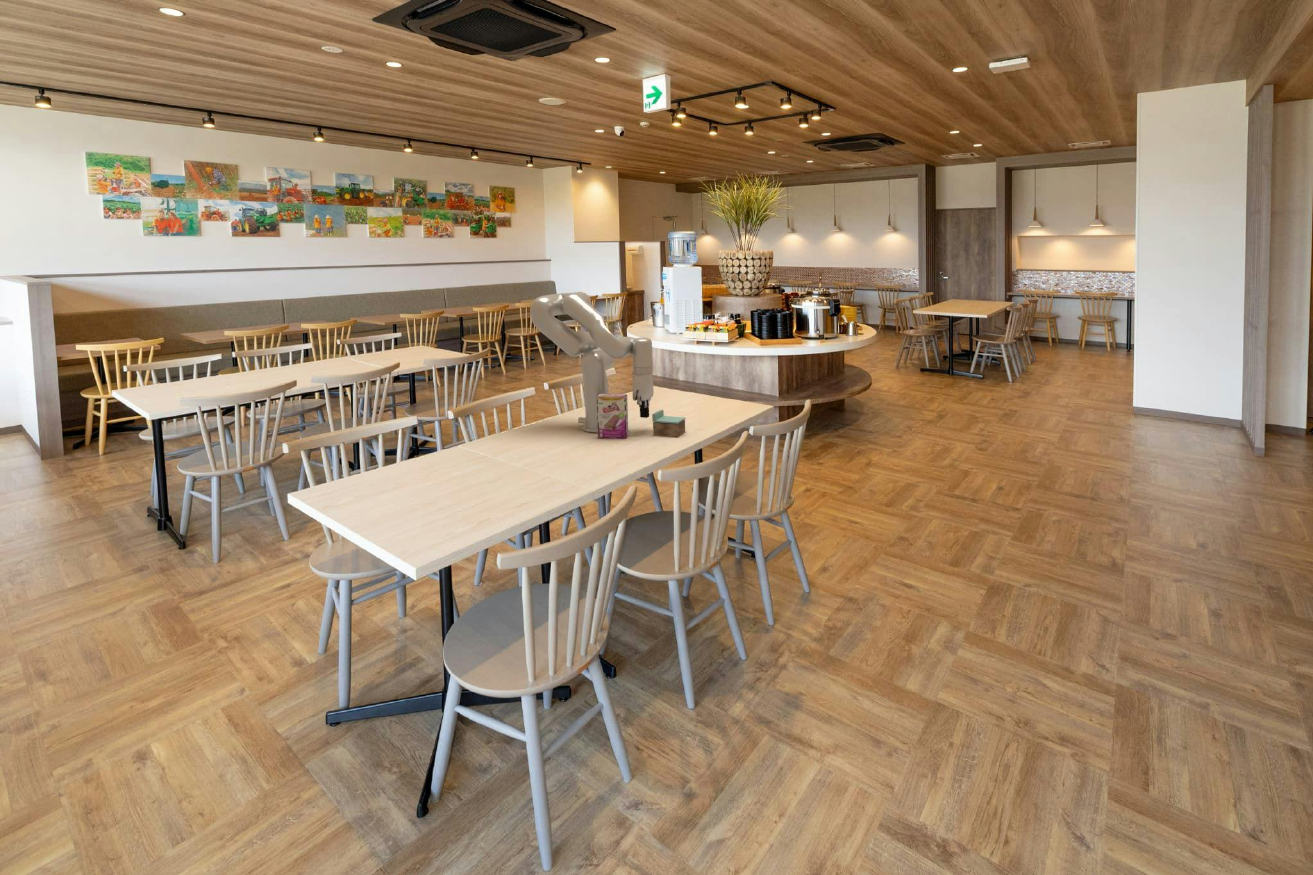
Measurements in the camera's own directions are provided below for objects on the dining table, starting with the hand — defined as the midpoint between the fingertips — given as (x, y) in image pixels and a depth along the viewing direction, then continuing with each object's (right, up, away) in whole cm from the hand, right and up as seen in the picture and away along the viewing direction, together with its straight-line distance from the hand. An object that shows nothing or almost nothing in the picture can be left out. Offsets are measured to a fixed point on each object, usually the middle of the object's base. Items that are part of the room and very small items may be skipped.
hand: (644, 417), depth 285 cm
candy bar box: (-12, -8, -5) cm, 15 cm away
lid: (+9, -1, -4) cm, 10 cm away
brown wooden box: (+10, -6, -3) cm, 12 cm away
